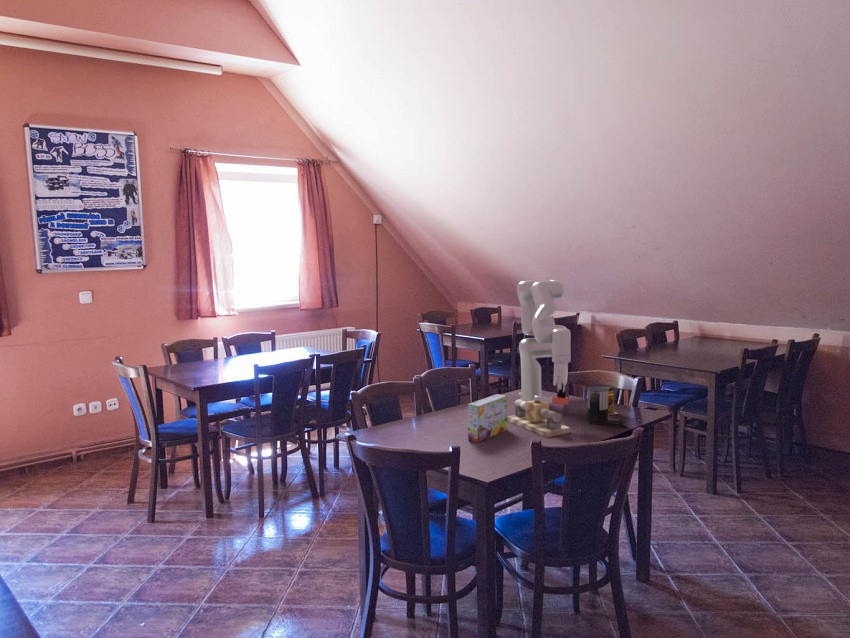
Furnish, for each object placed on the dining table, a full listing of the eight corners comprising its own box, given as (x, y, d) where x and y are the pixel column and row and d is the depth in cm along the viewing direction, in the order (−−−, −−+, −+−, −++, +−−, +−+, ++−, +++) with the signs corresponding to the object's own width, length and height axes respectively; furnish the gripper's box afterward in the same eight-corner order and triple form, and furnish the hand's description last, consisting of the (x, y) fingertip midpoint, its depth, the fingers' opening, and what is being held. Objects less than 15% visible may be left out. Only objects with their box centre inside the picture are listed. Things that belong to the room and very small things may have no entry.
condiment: (605, 416, 284) (605, 389, 282) (593, 411, 291) (593, 385, 290) (618, 413, 286) (618, 387, 285) (606, 409, 294) (606, 384, 293)
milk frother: (586, 418, 280) (586, 385, 278) (623, 419, 277) (623, 386, 276) (588, 428, 266) (588, 393, 265) (627, 428, 264) (628, 393, 262)
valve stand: (506, 420, 280) (506, 397, 279) (529, 416, 286) (528, 393, 284) (546, 437, 255) (546, 411, 254) (570, 432, 261) (570, 407, 259)
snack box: (479, 443, 251) (478, 405, 249) (467, 440, 254) (466, 403, 252) (508, 430, 267) (507, 394, 265) (496, 427, 270) (496, 393, 269)
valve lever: (533, 402, 269) (533, 396, 268) (534, 400, 271) (534, 394, 271) (567, 405, 263) (567, 398, 262) (568, 403, 265) (568, 397, 265)
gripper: (554, 354, 274) (554, 396, 276) (549, 361, 260) (549, 405, 262) (572, 355, 271) (572, 396, 274) (568, 362, 257) (568, 406, 260)
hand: (561, 400), depth 268 cm, fingers closed
